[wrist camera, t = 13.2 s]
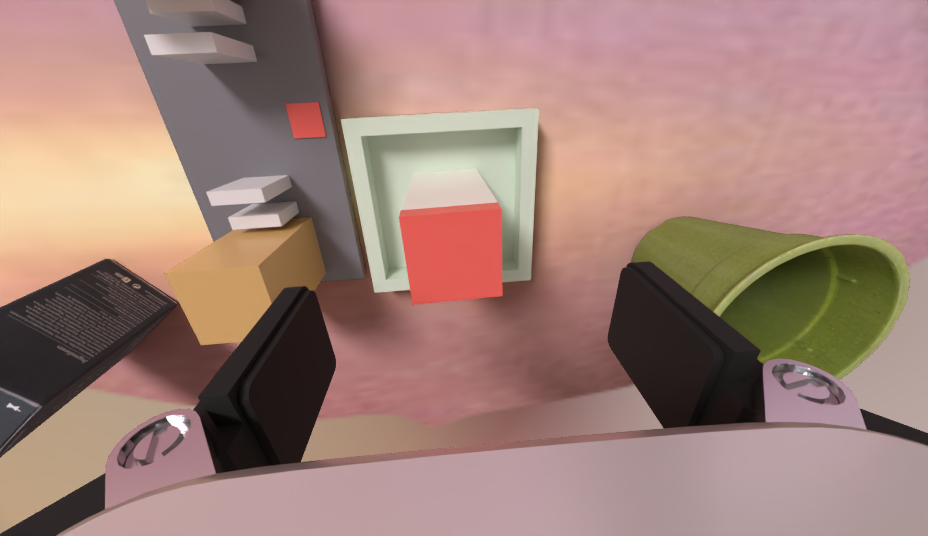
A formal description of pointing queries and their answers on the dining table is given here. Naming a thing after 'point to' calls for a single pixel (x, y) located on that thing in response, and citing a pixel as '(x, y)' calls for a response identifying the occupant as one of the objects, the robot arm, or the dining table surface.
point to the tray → (434, 150)
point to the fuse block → (249, 152)
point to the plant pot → (787, 287)
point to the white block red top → (451, 237)
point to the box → (69, 341)
